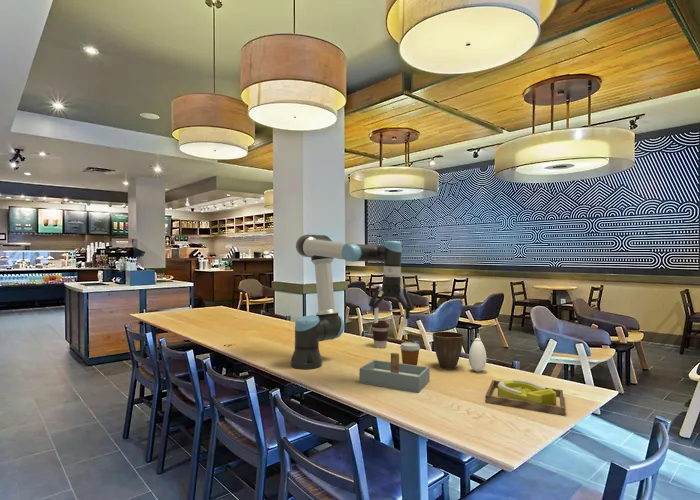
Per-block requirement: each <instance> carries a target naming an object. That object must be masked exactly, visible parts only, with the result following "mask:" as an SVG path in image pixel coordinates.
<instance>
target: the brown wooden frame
mask: <svg viewBox="0 0 700 500" xmlns="http://www.w3.org/2000/svg"><path fill="white" fill-rule="evenodd" d="M499 382H500V380H494V379H492V380H491V382H490V385H489V387H488V388H487V390H486V394H485V397H484V398H485V399H484V400H485V401H484V402H485V403H487V404H488V403H489V404H493V405H501V406H505V407H506V406H507V407H511V408H518V409H524V410H530V411H536V412H543V413H547V414H554V415H561V416H565V401H564V393H563V392H564V390H563V389H558V388H550V387H546V386H545V387H544V386H543V387H544V388H546V389H552V390H553V391H555V392H556V398H557V397H558V398H559V403H560V404H559V405H556V406H554V405H548V404H541V403H535V402H529V401H522V400H516V399H510V398H503V397H499V396H498V395H492V394H493V392H494V390H495V388H497V387H498V384H499Z"/></svg>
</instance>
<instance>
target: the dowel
mask: <svg viewBox="0 0 700 500" xmlns="http://www.w3.org/2000/svg"><path fill="white" fill-rule="evenodd" d="M390 362H391V372H392V373H399V363H400V353H398V352H391V353H390Z"/></svg>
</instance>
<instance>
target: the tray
mask: <svg viewBox="0 0 700 500" xmlns="http://www.w3.org/2000/svg"><path fill="white" fill-rule="evenodd" d="M430 369H431V368H430V366H429V367H428V366H423V365H417V366H416V365H409V364H403V363H402V362H401V363H400V362H399V373H392V372H391V361H385V360H378V359H373V360H371V361H369V362H368V363H366V364H365V365H362V366H361V367H359V374H358V375H359V379H358V380H359V381H358V382H359V383H361V384H366V385H372V386H378V387H384V388H391V389H395V390H402V391H408V392H414V393H420V392H421V391H422V390H423V389H424V388H425V387H426V385H428V383H430V378H431V377H430V372H431V370H430Z"/></svg>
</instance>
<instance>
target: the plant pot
mask: <svg viewBox="0 0 700 500" xmlns="http://www.w3.org/2000/svg"><path fill="white" fill-rule="evenodd" d="M431 335H432V341H433V347H434V351H435V355H436V359H437V362H438V364H439V367H440V368H441V369H444V370H455V369H456V368H457V365H458V363H459V360H460V357H461V353H462V349H463V344H464V339H465V335H464V334H463V333H461V332H455V331H435V332H432V334H431Z"/></svg>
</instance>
